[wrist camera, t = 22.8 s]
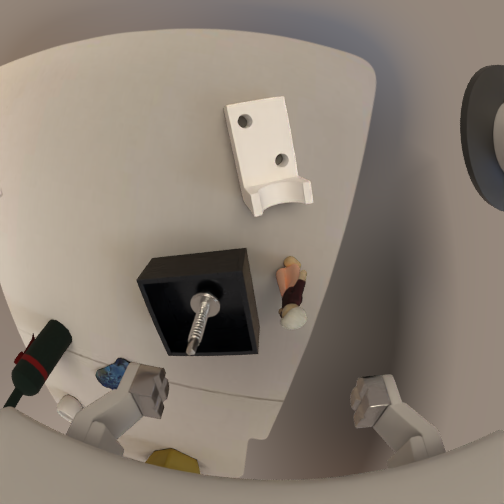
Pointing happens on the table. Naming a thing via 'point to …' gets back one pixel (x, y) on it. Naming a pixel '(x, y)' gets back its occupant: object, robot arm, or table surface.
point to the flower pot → (174, 461)
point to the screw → (201, 317)
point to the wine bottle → (38, 361)
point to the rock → (112, 374)
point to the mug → (68, 407)
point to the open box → (203, 280)
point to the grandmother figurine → (291, 293)
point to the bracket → (265, 155)
